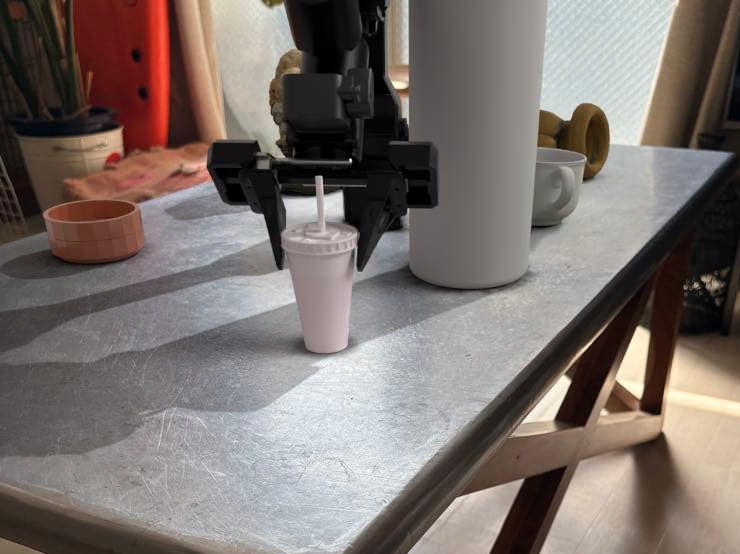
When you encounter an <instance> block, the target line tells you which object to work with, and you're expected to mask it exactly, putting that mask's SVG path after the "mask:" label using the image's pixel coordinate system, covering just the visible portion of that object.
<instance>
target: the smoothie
mask: <svg viewBox="0 0 740 554" xmlns="http://www.w3.org/2000/svg"><path fill="white" fill-rule="evenodd" d="M315 181H316V194H315V195H316V211H317V221H310V222H303V223H302V222H301V223H298V224H297V223H296V224H293V225H291V226H288V227H286V229H284V230H283V231H282V233H281V242H282V243H281V247H282V248H283V249H284V250H286V258H287V264H288V269H289V273H290V278H291V283H292V288H293V291H294V292H293V293H294V298H295V302H296V307H297V312H298V317H299V322H300V326H301V331H302V337H303V341H304V346H305V348H306V350H308V351H309V352H312V353H317V354H332V353H337V352H341V351H344V350H345V349H346V348H347V347H348V344H349V331H350V320H351V308H352V307H351V306H352V296H353V295H352V294H353V293H352V292H353V283H354V282H353V281H354V269H355V256H356V254H355V253H356V249H357V246H358V240H359V230H357V229H356V228H355V227H353V226H351V225H349V224H348V223H343V222H337V221H326V215H325V214H326V213H325V198H324V193H323V179H322V176H315Z"/></svg>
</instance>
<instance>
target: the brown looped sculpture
mask: <svg viewBox="0 0 740 554" xmlns="http://www.w3.org/2000/svg"><path fill="white" fill-rule="evenodd" d="M610 145H611V131H610V124H609V120H608V117H607V115H606V113H605V111H604V110H603V109H602V108H601V107H600V106H598V105H596V104H594V103H591V102H582V103H580V104H578V105H577V106H576V107H575V109H574V111H572V114H571V118H570V119H568V120H567V119H566V120H564V119H563V118H561V117H560V116H559V115H556V113H554V112H552V111H548V110H544V109H540V113H539V126H538V140H537V147H543V148H554V149H561V150H567V151H571V152H576V153H580V154H582V155H584V156H586V158H587V161H586V163H585V167H584V174H583V179H586V180H587V179H590V178H593V177H595V176H597V175H598V174H599V173H600V172H601V171H602V169H603V167H604V166H605V164H606V162H607V160H608V158H609V152H610Z"/></svg>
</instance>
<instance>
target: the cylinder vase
mask: <svg viewBox="0 0 740 554" xmlns="http://www.w3.org/2000/svg"><path fill="white" fill-rule="evenodd" d="M548 5H549V0H408V14H407V15H408V127H409V141H414V142H432V143H433V144H434V145H435V146H436V148H437V149H438V157H439V200H438V206H436V207H434V208H432V209H414V208H408V265H409V269H410V271H411V272H412V274H413V275H414V276H416V277H417V278H418V279H420V280H421V281H424V282H426V283H428V284H431V285H435V286H439V287H444V288H452V289H459V290H460V289H463V290H464V289H465V290H477V289H479V290H480V289H490V288H496V287H502V286H505V285H508V284H509V285H510V284H511V283H514V282H515V281H518V280H519V279H521V278H522V277H523V276H524V275H525V274H526V272H527V270H528V268H529V259H530V246H531V233H532V225H531V220H532V207H533V193H534V180H535V167H536V153H537V140H538V126H539V113H540V110H541V98H542V84H543V72H544V71H543V70H544V58H545V45H546V32H547V31H546V30H547V18H548Z"/></svg>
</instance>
